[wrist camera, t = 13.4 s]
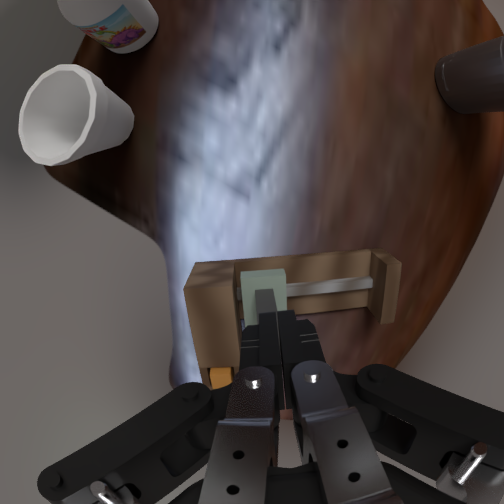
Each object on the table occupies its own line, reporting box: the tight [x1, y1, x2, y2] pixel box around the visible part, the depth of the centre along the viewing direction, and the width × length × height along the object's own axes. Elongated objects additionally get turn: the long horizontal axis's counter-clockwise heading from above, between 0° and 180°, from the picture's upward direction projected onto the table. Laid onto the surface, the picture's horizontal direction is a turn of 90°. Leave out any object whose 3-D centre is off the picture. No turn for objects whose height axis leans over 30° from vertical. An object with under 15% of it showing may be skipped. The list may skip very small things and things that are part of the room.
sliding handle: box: [240, 268, 287, 346], centre depth 32 cm, size 5×7×11 cm
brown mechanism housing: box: [183, 248, 402, 390], centre depth 36 cm, size 24×15×8 cm, turn 94°
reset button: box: [210, 367, 234, 389], centre depth 35 cm, size 2×2×4 cm
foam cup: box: [18, 65, 134, 166], centre depth 25 cm, size 10×9×13 cm
